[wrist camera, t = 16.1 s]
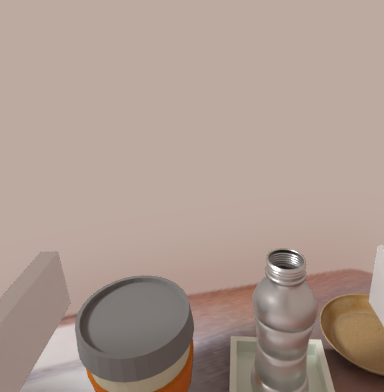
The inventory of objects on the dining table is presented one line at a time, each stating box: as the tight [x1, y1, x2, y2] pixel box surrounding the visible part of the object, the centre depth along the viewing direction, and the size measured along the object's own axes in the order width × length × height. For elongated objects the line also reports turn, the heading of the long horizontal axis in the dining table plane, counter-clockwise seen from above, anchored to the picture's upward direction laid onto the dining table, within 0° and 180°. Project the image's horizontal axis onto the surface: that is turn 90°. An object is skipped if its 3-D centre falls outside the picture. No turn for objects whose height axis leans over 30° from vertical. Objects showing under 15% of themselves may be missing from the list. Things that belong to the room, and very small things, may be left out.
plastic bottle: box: [251, 248, 318, 392], centre depth 37 cm, size 6×7×20 cm
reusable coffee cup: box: [75, 276, 194, 392], centre depth 40 cm, size 13×13×15 cm
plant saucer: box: [319, 293, 384, 376], centre depth 48 cm, size 15×15×3 cm
